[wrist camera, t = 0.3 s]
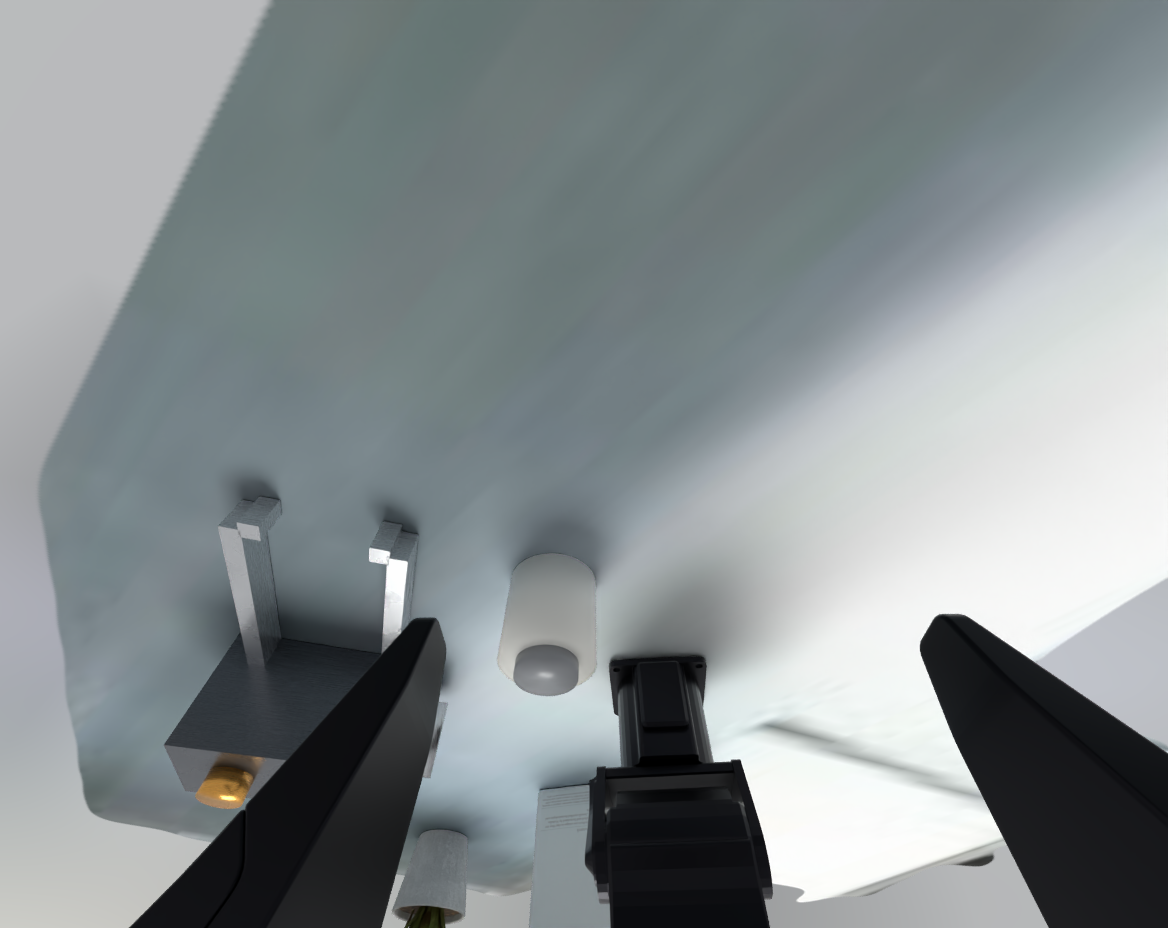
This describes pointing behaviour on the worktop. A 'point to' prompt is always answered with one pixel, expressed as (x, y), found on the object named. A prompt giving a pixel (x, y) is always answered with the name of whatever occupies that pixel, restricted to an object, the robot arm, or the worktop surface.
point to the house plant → (434, 881)
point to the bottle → (549, 625)
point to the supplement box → (564, 864)
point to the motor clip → (276, 668)
